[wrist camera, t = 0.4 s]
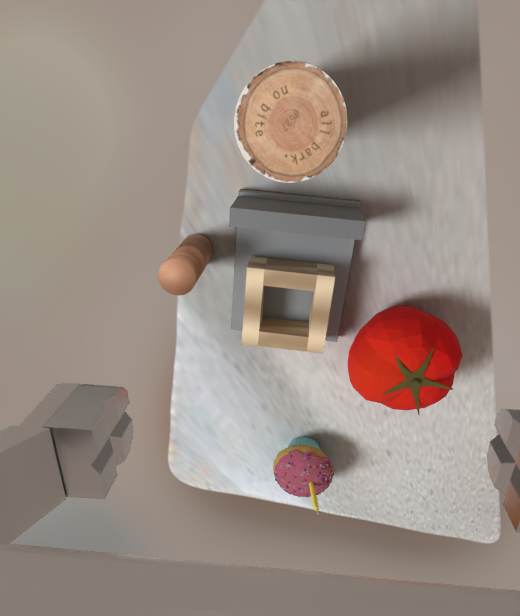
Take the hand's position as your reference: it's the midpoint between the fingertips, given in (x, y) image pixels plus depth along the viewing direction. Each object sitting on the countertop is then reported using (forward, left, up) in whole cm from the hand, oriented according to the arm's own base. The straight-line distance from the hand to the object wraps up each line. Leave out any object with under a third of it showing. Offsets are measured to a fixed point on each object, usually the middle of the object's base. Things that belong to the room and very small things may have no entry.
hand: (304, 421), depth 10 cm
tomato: (+21, +14, -46) cm, 53 cm away
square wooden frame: (+17, -1, -44) cm, 47 cm away
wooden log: (-5, -2, -46) cm, 47 cm away
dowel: (+12, -13, -46) cm, 50 cm away
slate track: (+13, -1, -46) cm, 48 cm away
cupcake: (+42, +4, -46) cm, 63 cm away
